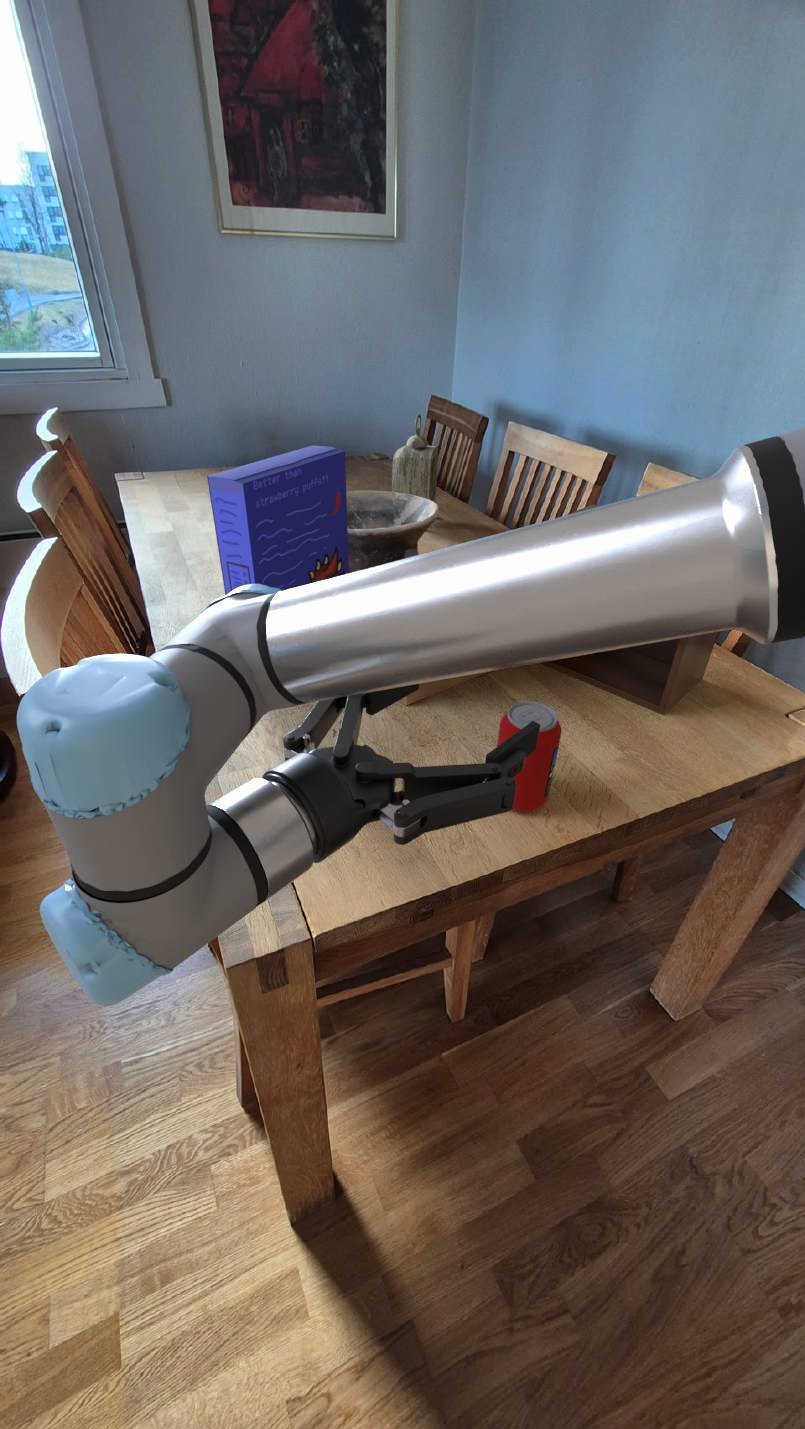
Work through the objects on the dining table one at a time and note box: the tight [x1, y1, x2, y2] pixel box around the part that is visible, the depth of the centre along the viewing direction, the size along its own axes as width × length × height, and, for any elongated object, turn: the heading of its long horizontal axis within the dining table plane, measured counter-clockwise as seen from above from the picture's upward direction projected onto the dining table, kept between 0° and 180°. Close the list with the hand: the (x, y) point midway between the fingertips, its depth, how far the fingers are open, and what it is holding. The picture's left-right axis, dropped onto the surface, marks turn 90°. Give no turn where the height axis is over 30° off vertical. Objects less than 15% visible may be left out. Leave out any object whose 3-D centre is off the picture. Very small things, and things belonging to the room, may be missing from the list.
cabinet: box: [539, 504, 720, 716], centre depth 94 cm, size 14×24×22 cm, turn 47°
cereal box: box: [206, 445, 349, 596], centre depth 94 cm, size 22×6×30 cm, turn 149°
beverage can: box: [496, 700, 562, 812], centre depth 71 cm, size 7×7×12 cm
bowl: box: [346, 490, 441, 573], centre depth 124 cm, size 27×26×15 cm
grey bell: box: [391, 413, 439, 503], centre depth 152 cm, size 14×9×25 cm, turn 170°
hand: (471, 703), depth 57 cm, fingers open, 13 cm apart
